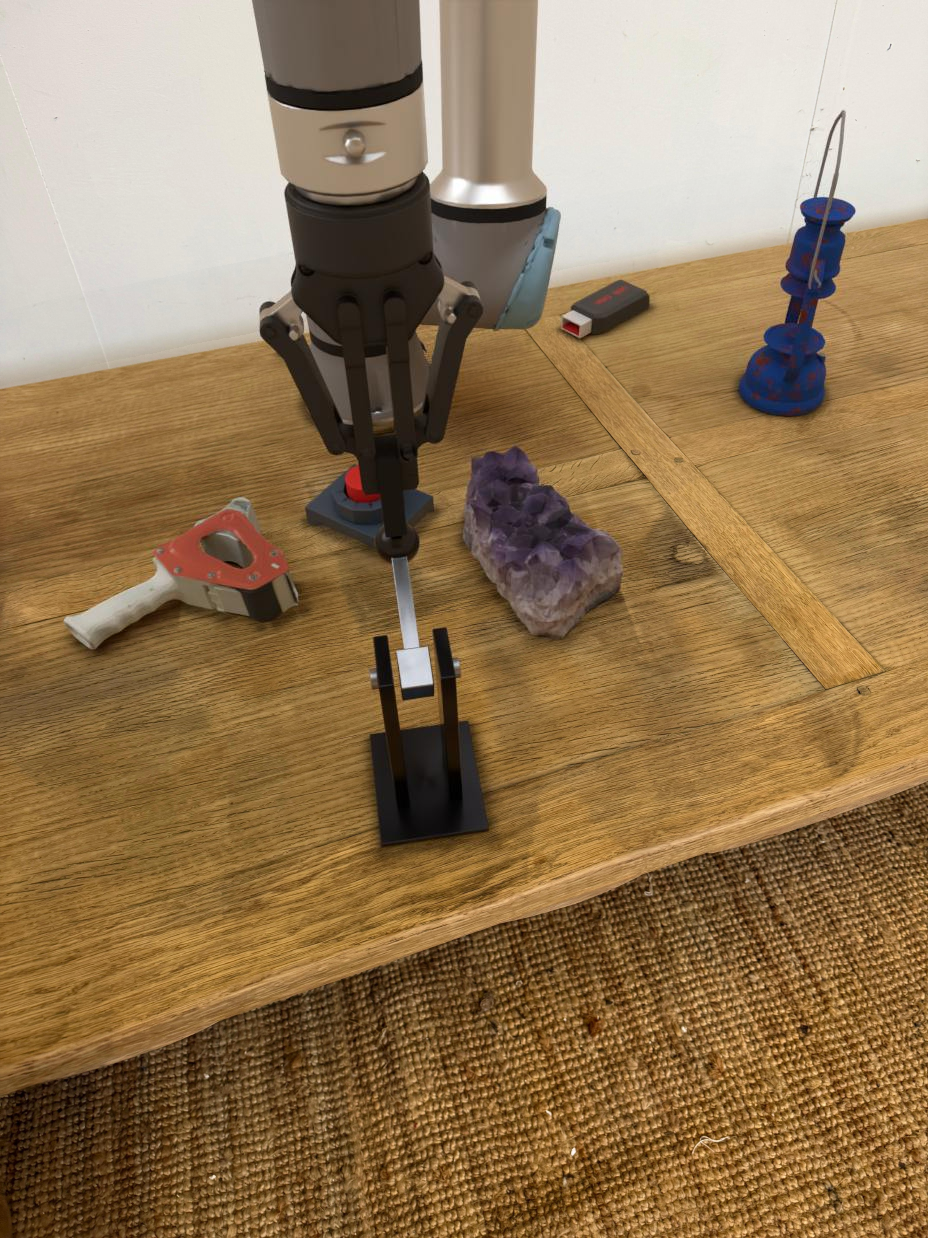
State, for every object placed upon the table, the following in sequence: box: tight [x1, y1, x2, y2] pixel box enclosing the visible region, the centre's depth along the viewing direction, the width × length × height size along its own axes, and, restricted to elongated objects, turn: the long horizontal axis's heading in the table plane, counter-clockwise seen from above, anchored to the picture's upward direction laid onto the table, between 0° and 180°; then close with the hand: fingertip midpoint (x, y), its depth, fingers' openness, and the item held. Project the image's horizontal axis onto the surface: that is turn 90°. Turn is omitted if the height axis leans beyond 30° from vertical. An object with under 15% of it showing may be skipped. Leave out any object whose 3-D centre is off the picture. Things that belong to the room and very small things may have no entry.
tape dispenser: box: [63, 497, 300, 650], centre depth 86 cm, size 18×5×20 cm
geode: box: [462, 445, 624, 640], centre depth 86 cm, size 20×12×10 cm, turn 30°
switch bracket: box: [368, 626, 490, 848], centre depth 67 cm, size 10×8×16 cm
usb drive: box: [560, 279, 651, 339], centre depth 119 cm, size 5×12×3 cm, turn 132°
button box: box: [304, 463, 435, 549], centre depth 93 cm, size 10×8×4 cm
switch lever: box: [374, 522, 435, 702], centre depth 65 cm, size 13×3×3 cm, turn 9°
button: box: [345, 464, 380, 503], centre depth 91 cm, size 4×4×2 cm
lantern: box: [738, 109, 857, 417], centre depth 96 cm, size 11×9×30 cm
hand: (394, 523), depth 65 cm, fingers closed
